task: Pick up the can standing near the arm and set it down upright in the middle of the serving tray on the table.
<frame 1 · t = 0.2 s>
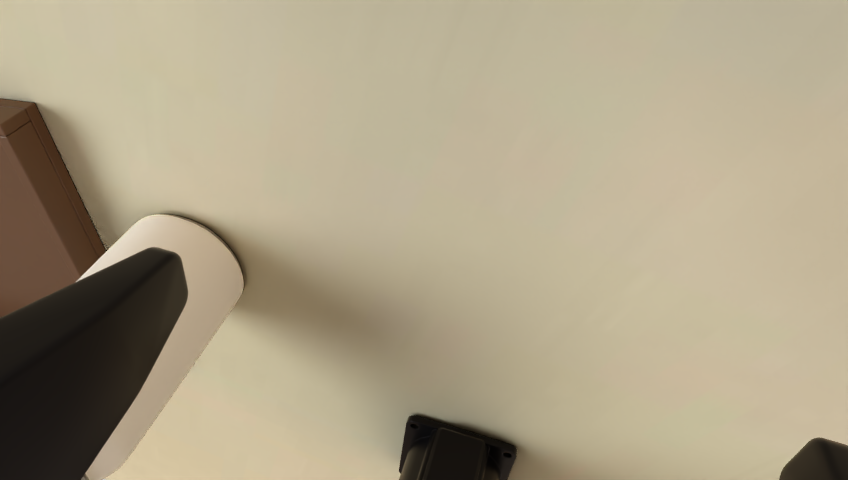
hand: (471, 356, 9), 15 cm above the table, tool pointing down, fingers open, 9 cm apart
can: (193, 256, 33), on the table
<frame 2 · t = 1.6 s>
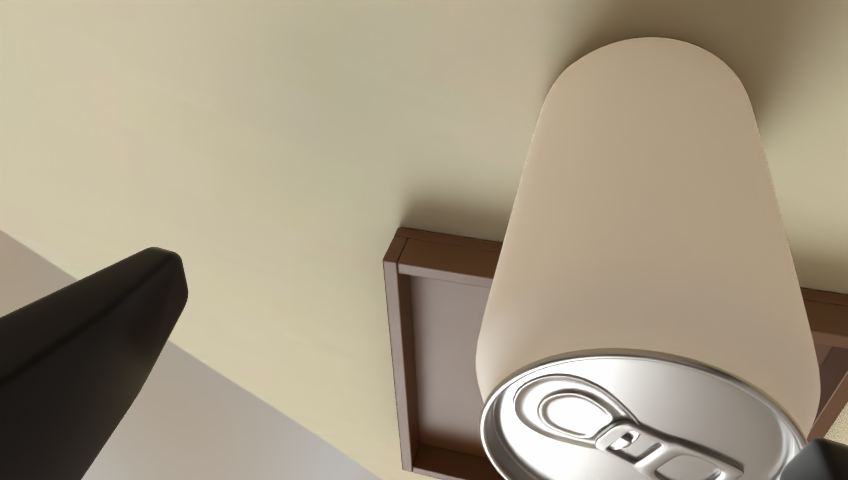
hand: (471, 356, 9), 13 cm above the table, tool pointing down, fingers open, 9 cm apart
tray: (587, 384, 28), on the table
can: (639, 126, 20), on the table
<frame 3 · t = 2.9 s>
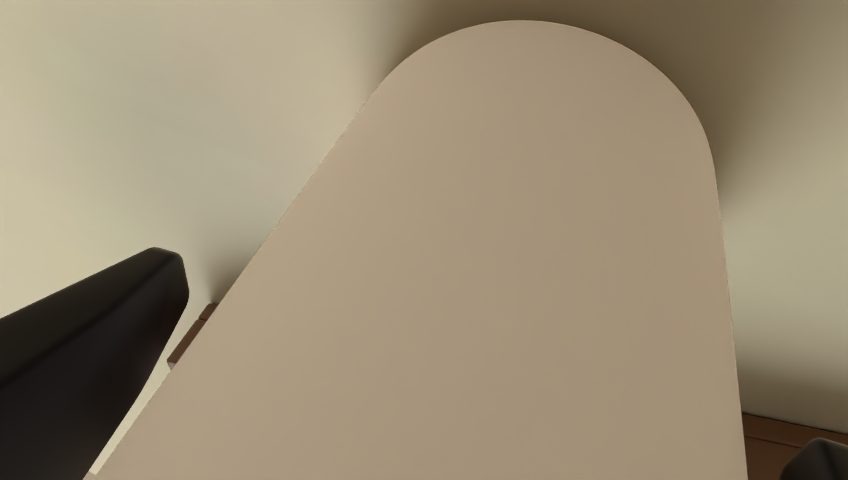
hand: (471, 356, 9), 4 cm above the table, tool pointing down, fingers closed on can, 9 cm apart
can: (528, 172, 12), on the table, touching gripper
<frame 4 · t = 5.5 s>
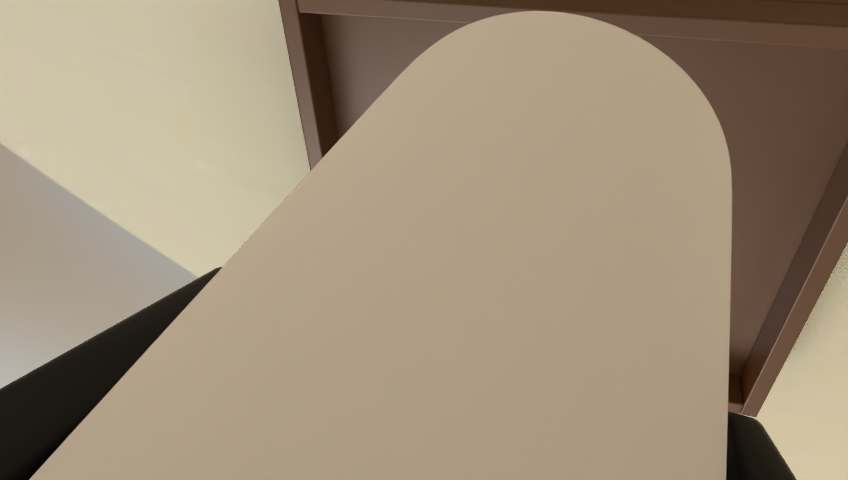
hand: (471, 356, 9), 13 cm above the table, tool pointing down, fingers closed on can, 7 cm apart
tray: (556, 197, 23), on the table
can: (548, 165, 12), point 8 cm above the table, touching gripper
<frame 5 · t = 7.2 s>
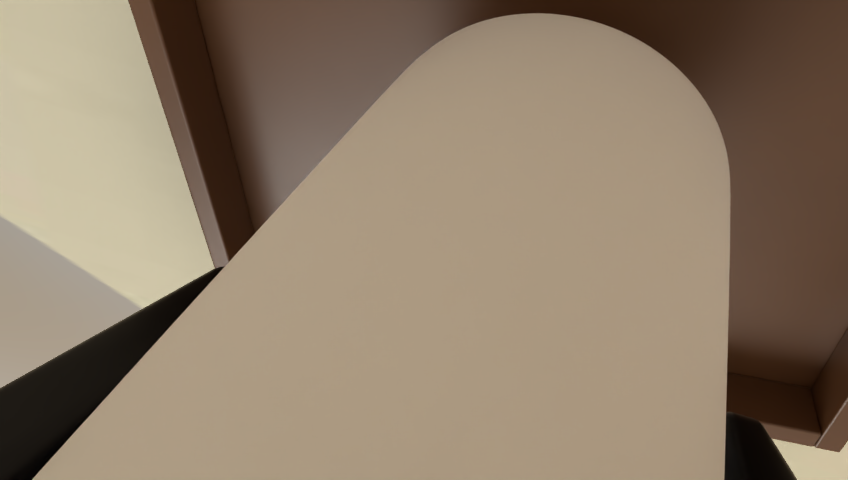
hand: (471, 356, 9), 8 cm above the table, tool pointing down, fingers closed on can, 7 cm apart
tray: (538, 109, 14), on the table
can: (547, 166, 12), point 3 cm above the table, touching gripper
when the fingers open (6 cm above the table, at t = 8.2 s): can stays where it is, resting on tray.
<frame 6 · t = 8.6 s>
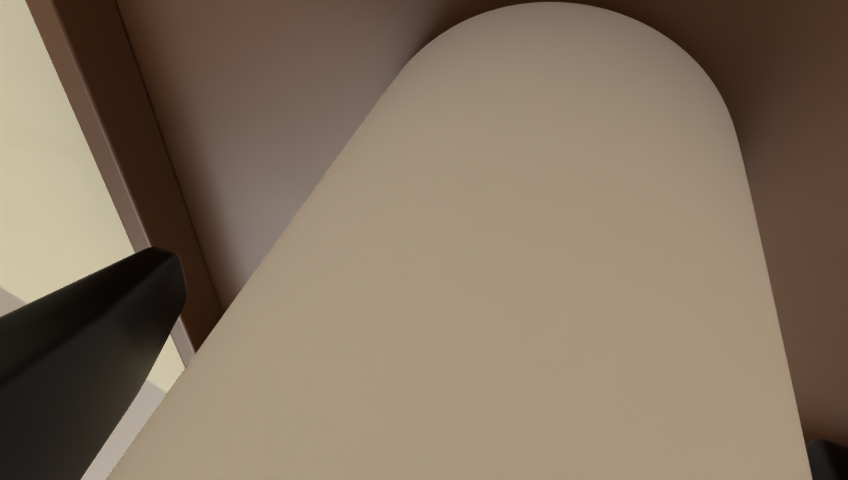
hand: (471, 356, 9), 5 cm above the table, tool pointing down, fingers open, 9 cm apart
tray: (524, 157, 13), on the table
can: (547, 161, 12), resting on tray, touching gripper
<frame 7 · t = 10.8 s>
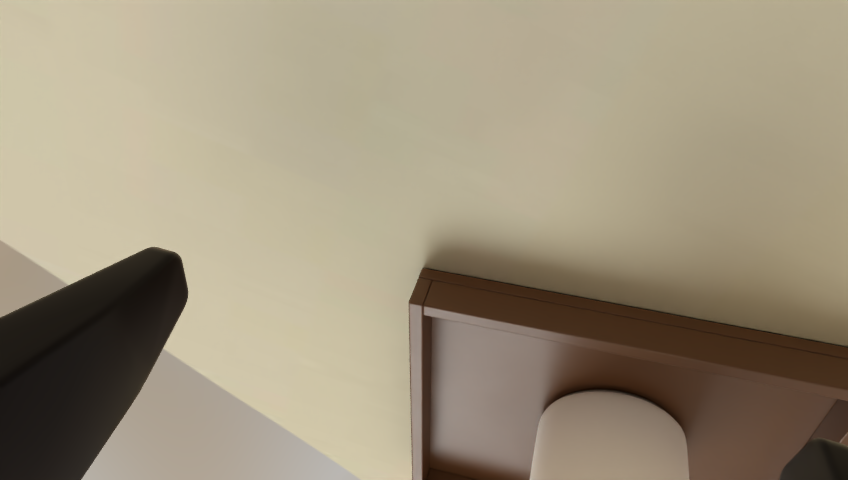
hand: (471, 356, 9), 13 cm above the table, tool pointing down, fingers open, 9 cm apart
tray: (598, 419, 29), on the table
can: (610, 425, 29), resting on tray
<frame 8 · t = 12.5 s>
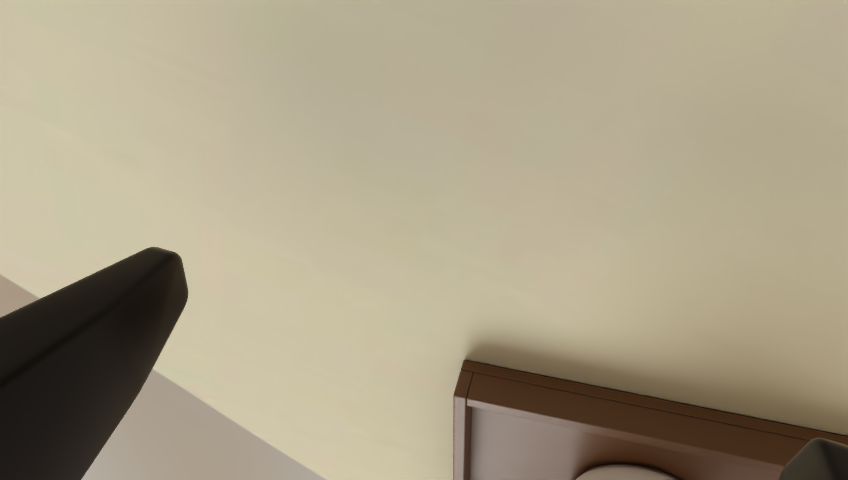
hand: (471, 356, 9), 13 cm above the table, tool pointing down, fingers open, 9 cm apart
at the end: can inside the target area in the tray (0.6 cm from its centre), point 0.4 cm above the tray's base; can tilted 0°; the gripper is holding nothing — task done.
